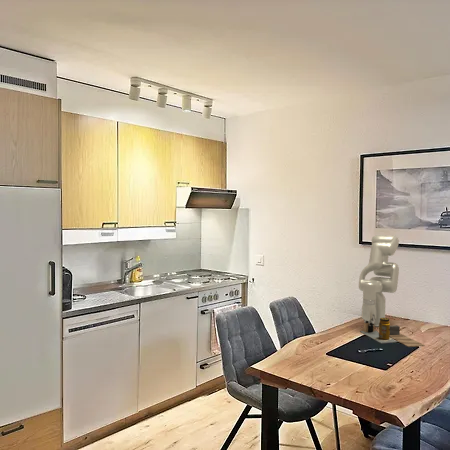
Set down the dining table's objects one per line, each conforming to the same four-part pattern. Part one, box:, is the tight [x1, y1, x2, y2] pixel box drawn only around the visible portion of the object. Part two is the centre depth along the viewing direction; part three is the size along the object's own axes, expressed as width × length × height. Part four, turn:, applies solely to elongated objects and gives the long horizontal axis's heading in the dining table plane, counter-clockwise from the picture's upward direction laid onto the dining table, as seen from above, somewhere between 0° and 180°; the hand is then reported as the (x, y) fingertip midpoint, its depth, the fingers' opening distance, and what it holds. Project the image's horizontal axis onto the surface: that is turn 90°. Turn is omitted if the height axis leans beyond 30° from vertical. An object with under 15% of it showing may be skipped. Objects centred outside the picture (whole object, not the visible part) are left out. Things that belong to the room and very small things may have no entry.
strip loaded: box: [359, 322, 398, 344], centre depth 265 cm, size 24×10×6 cm, turn 11°
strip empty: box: [390, 325, 425, 348], centre depth 259 cm, size 24×10×6 cm, turn 11°
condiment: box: [373, 317, 392, 342], centre depth 259 cm, size 7×8×12 cm
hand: (368, 331), depth 276 cm, fingers closed on strip loaded, 3 cm apart
